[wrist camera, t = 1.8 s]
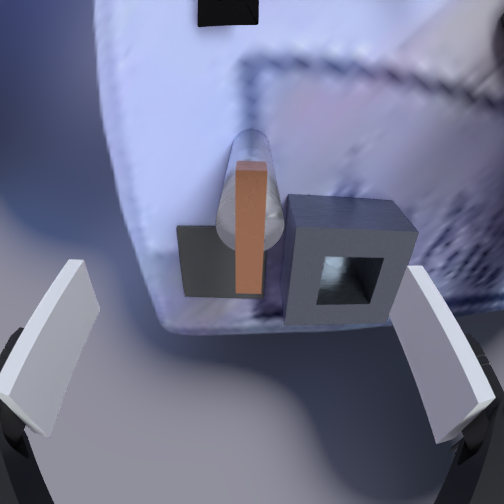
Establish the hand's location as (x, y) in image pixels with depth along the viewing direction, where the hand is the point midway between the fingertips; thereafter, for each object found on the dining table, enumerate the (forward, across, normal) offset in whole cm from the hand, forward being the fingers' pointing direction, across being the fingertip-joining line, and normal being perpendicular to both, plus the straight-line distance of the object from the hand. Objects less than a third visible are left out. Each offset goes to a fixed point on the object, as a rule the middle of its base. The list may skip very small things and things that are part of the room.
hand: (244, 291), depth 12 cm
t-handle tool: (+21, 0, 0) cm, 21 cm away
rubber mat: (+21, +3, +14) cm, 26 cm away
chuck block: (+21, -10, +11) cm, 26 cm away
